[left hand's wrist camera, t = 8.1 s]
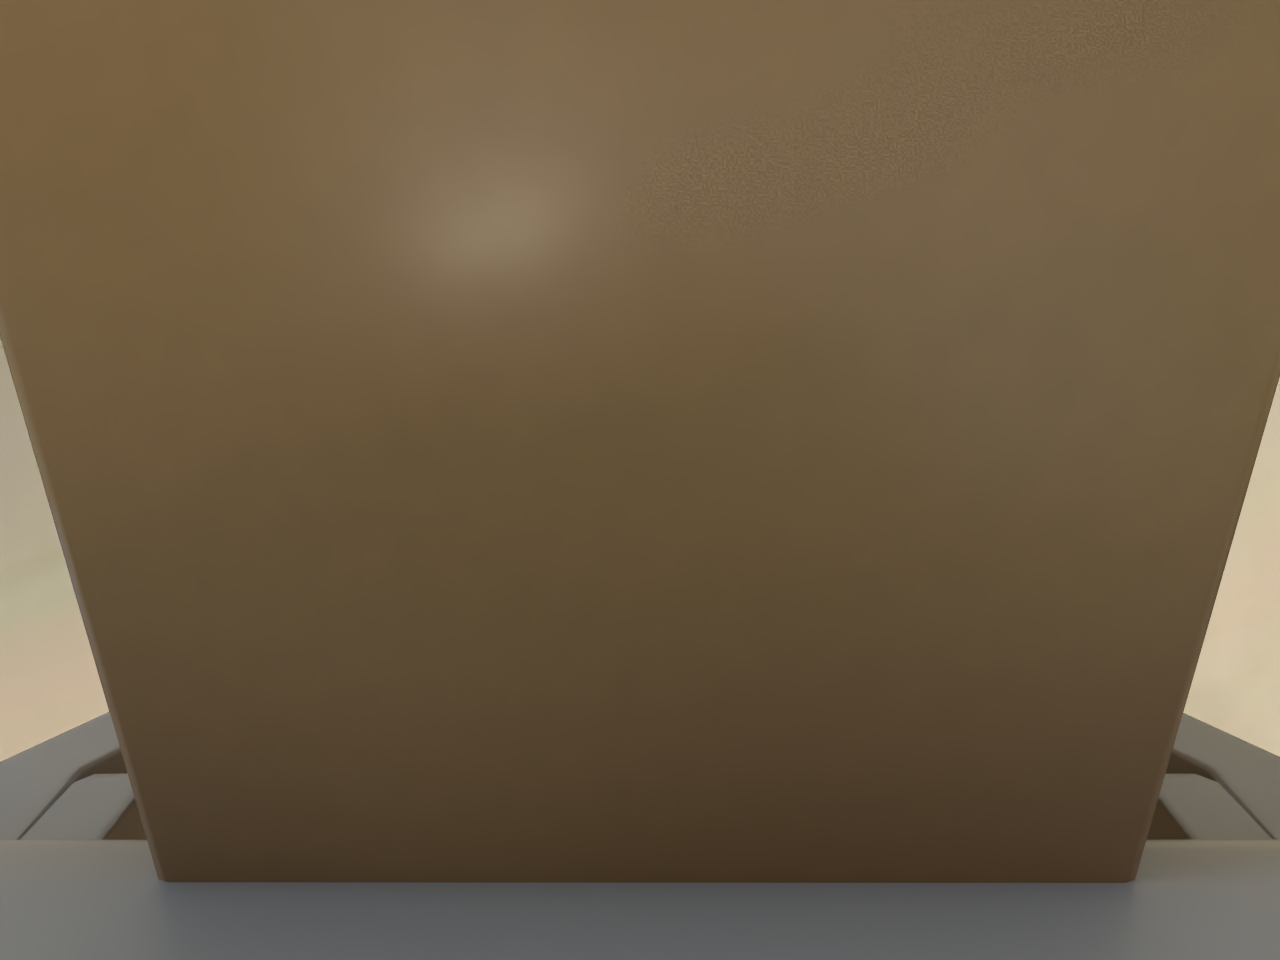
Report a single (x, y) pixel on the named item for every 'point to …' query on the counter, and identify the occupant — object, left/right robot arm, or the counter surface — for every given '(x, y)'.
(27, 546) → the counter surface
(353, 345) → the bar
